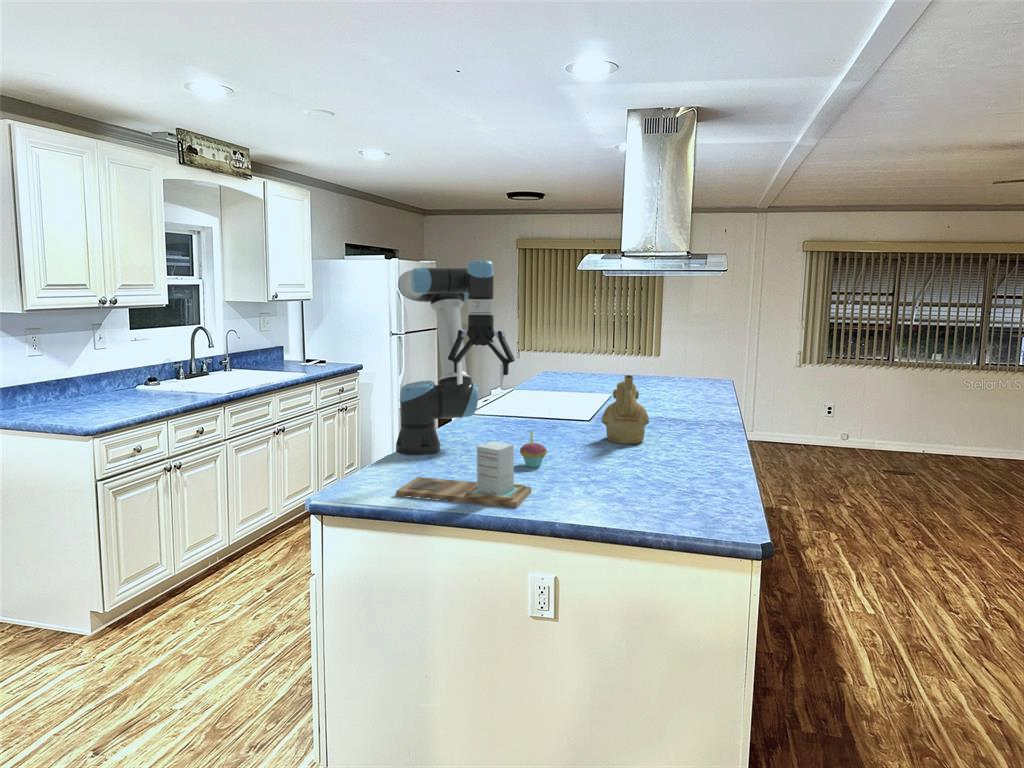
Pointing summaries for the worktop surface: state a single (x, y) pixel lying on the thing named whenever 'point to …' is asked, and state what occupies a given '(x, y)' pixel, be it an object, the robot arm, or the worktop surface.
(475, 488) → the board
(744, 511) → the worktop surface
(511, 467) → the supplement box
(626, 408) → the ceramic vessel
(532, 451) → the cupcake
